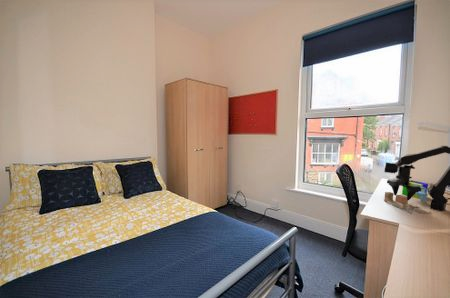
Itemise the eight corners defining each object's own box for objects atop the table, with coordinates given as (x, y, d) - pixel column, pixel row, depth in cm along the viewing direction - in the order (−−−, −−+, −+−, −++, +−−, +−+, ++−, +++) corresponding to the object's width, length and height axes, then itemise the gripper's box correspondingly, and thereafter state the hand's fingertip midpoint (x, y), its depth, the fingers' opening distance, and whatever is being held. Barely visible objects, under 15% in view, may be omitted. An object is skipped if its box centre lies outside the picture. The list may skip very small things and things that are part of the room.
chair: (429, 205, 133) (431, 187, 132) (414, 204, 135) (416, 186, 133) (420, 201, 141) (423, 184, 139) (406, 199, 142) (408, 183, 141)
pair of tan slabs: (411, 205, 129) (411, 204, 129) (429, 213, 118) (429, 211, 118) (404, 205, 129) (404, 204, 129) (421, 213, 118) (422, 211, 118)
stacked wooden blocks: (390, 200, 138) (390, 192, 137) (409, 208, 124) (410, 199, 124) (383, 200, 137) (384, 192, 137) (402, 208, 124) (403, 199, 123)
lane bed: (399, 201, 138) (399, 199, 138) (431, 214, 118) (431, 211, 118) (381, 202, 137) (381, 199, 137) (410, 215, 118) (410, 212, 117)
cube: (395, 201, 137) (395, 195, 136) (401, 201, 137) (402, 194, 136) (401, 203, 132) (402, 197, 132) (407, 203, 132) (408, 197, 132)
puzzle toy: (426, 197, 148) (428, 183, 147) (418, 198, 145) (420, 185, 144) (409, 192, 158) (411, 180, 156) (402, 194, 154) (403, 181, 153)
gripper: (380, 171, 141) (378, 193, 143) (406, 178, 123) (403, 203, 124) (395, 171, 142) (393, 192, 144) (423, 178, 123) (420, 202, 125)
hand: (401, 197), depth 134 cm, fingers open, 9 cm apart
